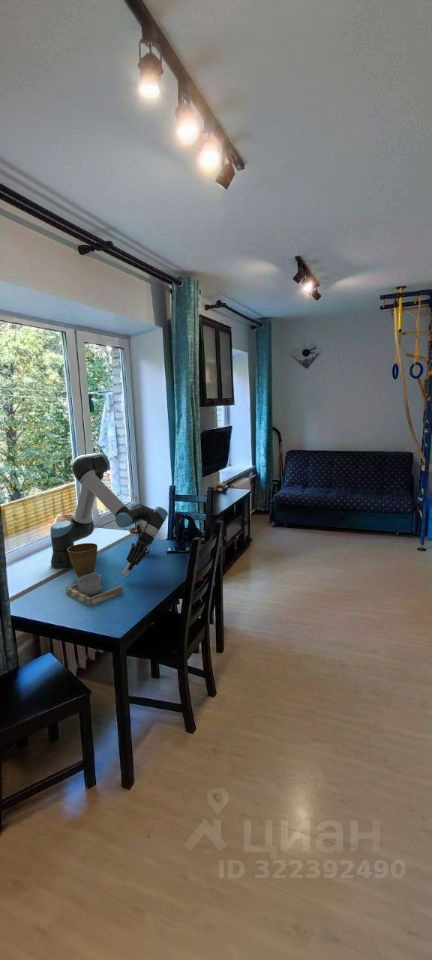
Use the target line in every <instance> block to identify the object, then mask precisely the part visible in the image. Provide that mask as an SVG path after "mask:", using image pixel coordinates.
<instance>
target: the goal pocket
mask: <svg viewBox="0 0 432 960" xmlns="http://www.w3.org/2000/svg"><path fill="white" fill-rule="evenodd" d="M123 590H124V589H123V586H122V585H119V586H116V587H114V588H111V589H108V590H106V591H103V592H101V593H99V594H98V593H97V594H95V595H92V596H86V595H84V594H82V593H80V590H79V586H78V582H77V583H75V584H72V585H69V586H67V587H65V591H66V594H67V595H68V596H70V597H72V598H73V599H76V600H78V601H80V602H82V603H83V604H85V605H87V606H90V607H91V606H94V605H96V604H99V603H101V602H103V601H106V600H109V599H110V598H113V597H115V596H118V595H120V594H123V593H124V592H123Z"/></svg>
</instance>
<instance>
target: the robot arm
mask: <svg viewBox="0 0 432 960" xmlns="http://www.w3.org/2000/svg"><path fill="white" fill-rule="evenodd" d="M110 467H111V463H110V459H109V458H108V456H107V455H106V454H105V453H103V452H93V453H88V454H83V455H82V454H81V455H79V456H77V457H75V458H74V460H73V462H72V467H71V469H72V473H73V475H74V477H75V478H76V480H77V481H78V483H80V484H81V489H80V492H79V496H78V502H77V505H76V509H75V512H74V513H73V514H72V515H71V519H70V521H69V520H62V521H59V522H56V523H54V524H52V525H51V526H50V534H49V535H50V539H51V548H52V556H51V559H50V566H51V567H52V568H54V569H66V568H71V567H73V566H72V564H71V561H70V558H69V554H68V550H67V549H68V548H69V547H71V546H74V545H75V542H77V541H81V540H82V539H86V538H87V537H89V536H91V535H92V534H93V532H94V531H95V523H94V520H93V517H92V511H93V507H94V503H95V500H96V499H98V500H99V501H100V502H101V503H102V504H103V506H105V507H106V508H107V510H108V511H109V512H110V513H111V514H112V515H113V516H114V517H115V519H114V521H115V523H116V526H117V527H119V528H128V527H130V526H132V525H133V524H134V525H135V524H137V522H139V521H140V522H141V521H143V522H146V523H145V524H144V526H143V527H144V528H143V532H141V534H140V535H139V540H138V539H137V540H138V541H137V540H136V542H135V543H134V542H132V543H131V547H130V549H129V552H128V554H127V557H126V561H127V563H126V565H125V567H124V569H123V571H122V572H121V575H123V576H124V577H128V575H129V574H130V572H131V571H132V570H133V568H134V567H135V566H139V564H140V563H141V562H142V560H144V558H145V556H146V555H148V554H149V552H151V550H150V548H149V546H151V545H152V544H153V542H154V541H155V538H156V536H157V535H158V534H159V531H160V529H161V528H162V526H163V525H164V523H165V521H166V519H167V518H168V515H169V512H168V511H167V509H165V508H163V507H161V506H156V507H155V508H152V507H149V506H146V505H144V504H143V503H139V502H138V503H136V502H135V503H134V504H132V506H131V507H130V508H128V506H126V504H124V502H122V500H120V498H119V497H118V496H117V495H116V494H115V493H114V491H112V490H111V489H110V488H109V487H108V486H107V485H106V484H105V483H104V482H103V481H102V480H103V479H104V474H105V473H107V472H108V471H109V470H110Z"/></svg>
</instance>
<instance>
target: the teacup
mask: <svg viewBox="0 0 432 960" xmlns="http://www.w3.org/2000/svg"><path fill="white" fill-rule="evenodd" d="M76 581H77V583H78V586H79V592H80V593H82V594H84V595H86V596H88V597H93V596H96V595H98V593H99V592H100V591H101V590H102V586H103V585H102V584H103V583H102V576H101V574H99V573H97V572H95V571H94V572H93V573H92V574H87V575H84V576H82V577H80V578H78V577H77V580H76Z"/></svg>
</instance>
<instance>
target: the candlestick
mask: <svg viewBox="0 0 432 960" xmlns="http://www.w3.org/2000/svg"><path fill="white" fill-rule="evenodd" d="M134 499H135V503H139V502H138V499H137V495H135V498H134ZM144 527H145V526H142V524H141V521H139V522H137V523H136V524H134V527H131V528H130V529H129V530H128V531H129V533H130V534H132V535H137V537H138V539H137V540H136V542H137V541H138V540H139V535H140V534H141V532H143V528H144Z"/></svg>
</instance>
